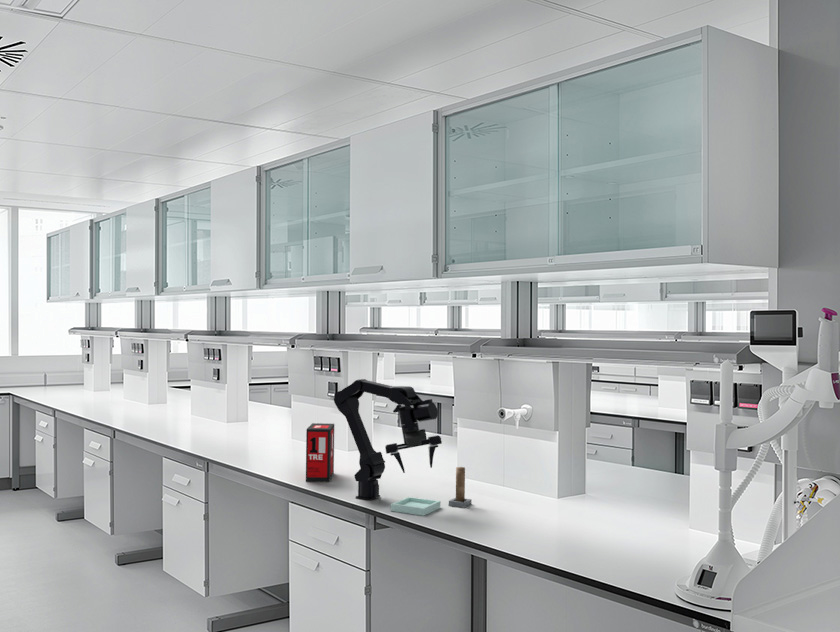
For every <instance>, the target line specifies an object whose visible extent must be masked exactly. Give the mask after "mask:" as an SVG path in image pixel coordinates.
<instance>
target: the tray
mask: <svg viewBox="0 0 840 632" xmlns="http://www.w3.org/2000/svg"><path fill="white" fill-rule="evenodd" d="M439 509H441V500H436V499H435V500H434V499H428V498H419V497H413V496H407V497H405V498H402V499H400V500H397V501H395V502H392V503H391V504H390V512H397V513H401V514H402V513H404V514H410V515H416V516H423V517H424V516H426V515H428V514H430V513H432V512H434V511H436V510H439Z"/></svg>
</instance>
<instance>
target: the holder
mask: <svg viewBox="0 0 840 632" xmlns="http://www.w3.org/2000/svg"><path fill="white" fill-rule="evenodd" d="M470 505H472V499H471V498H465V501H464V502H460V501H456V497H453V498H451V499H449V500H448V506H449V507H456V508H463V509H465V508H467V507H469V506H470Z"/></svg>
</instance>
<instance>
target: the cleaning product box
mask: <svg viewBox="0 0 840 632" xmlns="http://www.w3.org/2000/svg"><path fill="white" fill-rule="evenodd" d="M305 438H306V441H305V443H306V445H305V453H306V454H305V455H306V456H305V483H307V482H309V483H311V482H312V483H314V482H315V483H329V482H330V481H331V479H332V477H333V475H334V474H335V470H334V469H335V423H321V422H320V423H314V422H311V424H310V425H309V426H308V427H307V428H306V437H305Z"/></svg>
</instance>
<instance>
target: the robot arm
mask: <svg viewBox="0 0 840 632" xmlns="http://www.w3.org/2000/svg"><path fill="white" fill-rule="evenodd" d="M364 393H367V394H370V395H371V394H372V395H375V396H379V397H383V398H386V399H388V400H390V402H392V403H395V404H396V406H395V408H394V409H393V411H392V412H393V413H394V414H396V413H398V414H399V419H400V426H401V432H402V438H403V443H400V444H398V443H395V442H394V443H389V444H386V445H385V453H386V454H389V455H390V456H393V457H394V458H395V459H396V461H397V463H398V464H399V467H400V468H401V470H402V473H403V474H405V473H406V472H405V471H406V470H405V466H404V464H403V460H402V457H401V454H400V452H399V450H405V449H410V448H416V447H421V446H427V445H428V447H427V448H428V458H429V460H428V461H429V466H430V467H429V468H431V469H432V468H433V460H434V454H435V451H436V448H439V445H441V444H443V443H442V442H443V441H442V437H441V435H433V436H428V437H427V433H426V429H425V428H422V429H420V427H419V422H420V423H421V422H427V421H431V420H436V419H437V418H438V415H439V411H438V408H437V405H436V404H435V403H434V402H433V399H432V398H430V399H424V400H423V399H421V397H420V396H419V395H418V394H417V393H416V390H415V389H414V387H412V386H408V385H407V386H405V385H404V386H403V385H399V386H392V385H389V384H384V383H381V382H375V381H372V380H371V381H370V380H368V379H365V378H362V379H361V378H359V379H356V380H354V381H353V382H352V383H351V384H349V385H347V386H346V387H344V388H343V389H341V390H339V391H337V392H335V394H334V397H333V402H334V405H335V406H336V408H337V409H338V411H339V413H341V414H342V415H343V416H344V417H345V418H346V422H347V424H348V426H349V430H350V433H351V435H352V438H353V439H354V442H355V445H356V447H357V450H358V453H359V462H358V465H359V467H360V468H359V470H358V471H356V473H355V474H354V479H355V481H356V482H358V483H357V495H356V496H355V499H361V500H368V501H372V500H375V499H378V498H380V497H381V494H380V484H379V480H381V478H382V476H383V475H382V474H383V473H384V472H385V469H386V464H385V463H386V460H385V459H384V457H383V453H382V452H381V451H376V450H375V449H374V448H373V445H372V443H371V440H370V438H369V435H368V433H367V430H366V427H365V426H364V423H363V420H362V417H361V414H360V412H359V408H360V401H359V399H361V397H362V396H363V395H364Z"/></svg>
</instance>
